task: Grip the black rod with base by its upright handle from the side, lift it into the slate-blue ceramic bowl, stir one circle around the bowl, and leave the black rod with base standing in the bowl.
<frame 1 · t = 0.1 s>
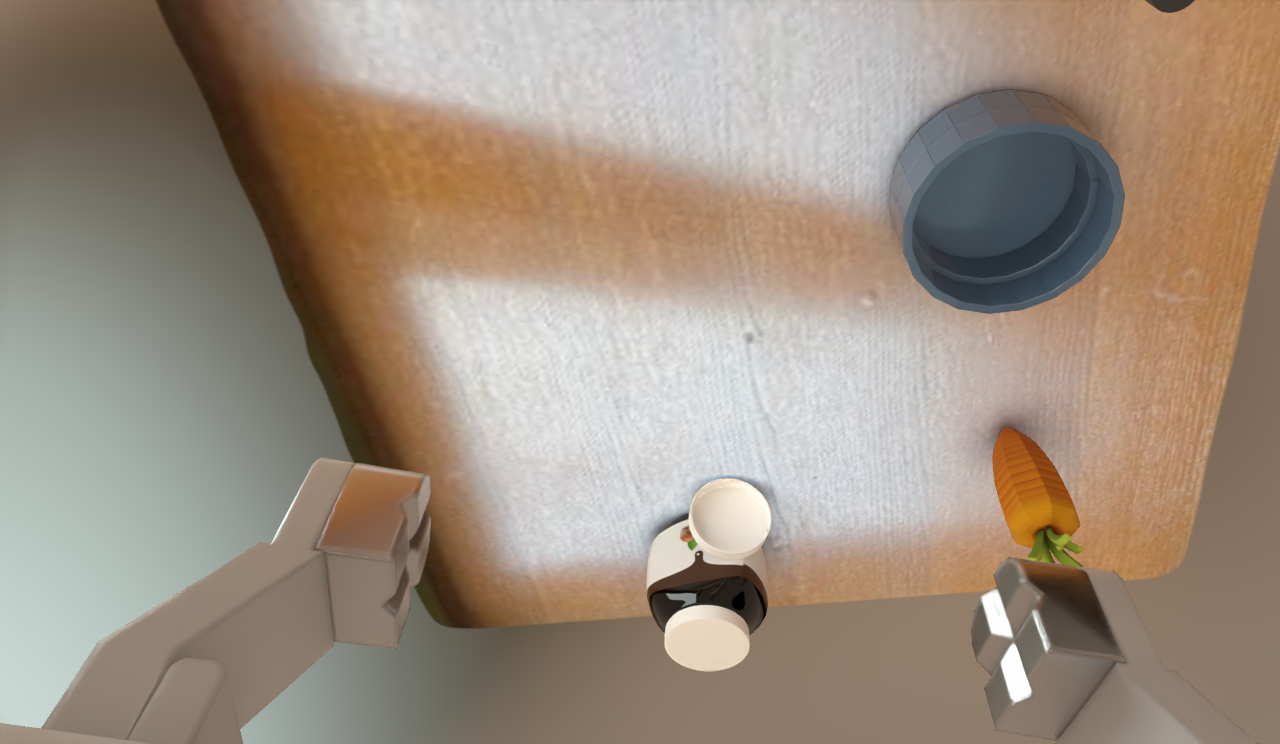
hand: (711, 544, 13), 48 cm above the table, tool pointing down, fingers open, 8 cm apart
bowl: (987, 182, 60), on the table
spread jar: (711, 520, 81), on the table
carrot: (1005, 427, 72), on the table
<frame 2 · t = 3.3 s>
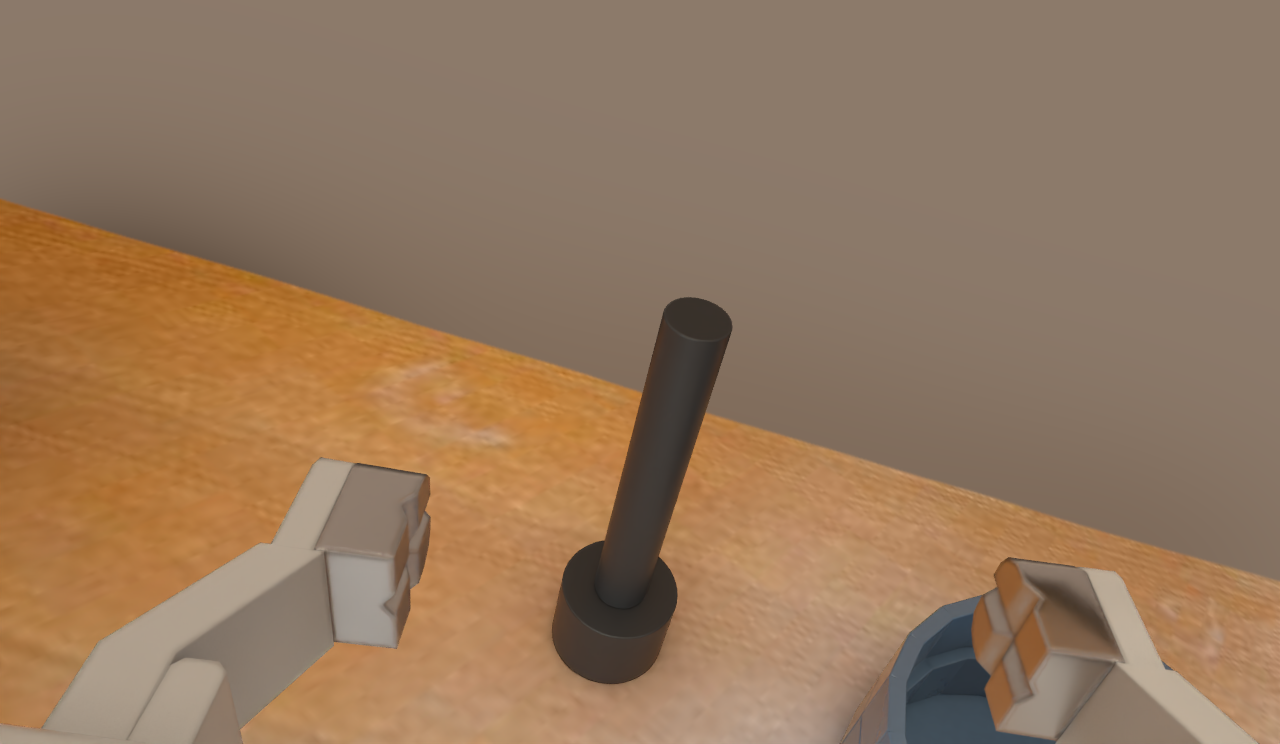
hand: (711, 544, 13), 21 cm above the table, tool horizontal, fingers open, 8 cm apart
black rod with base: (606, 633, 36), on the table
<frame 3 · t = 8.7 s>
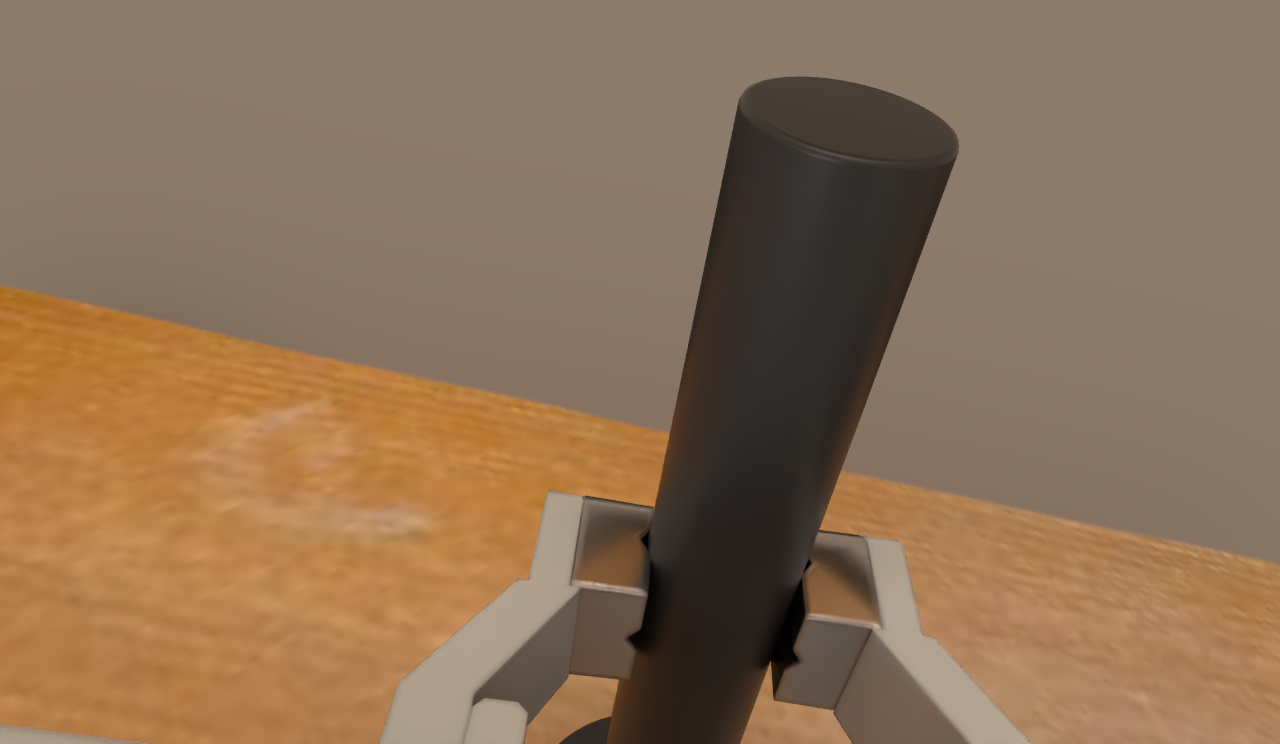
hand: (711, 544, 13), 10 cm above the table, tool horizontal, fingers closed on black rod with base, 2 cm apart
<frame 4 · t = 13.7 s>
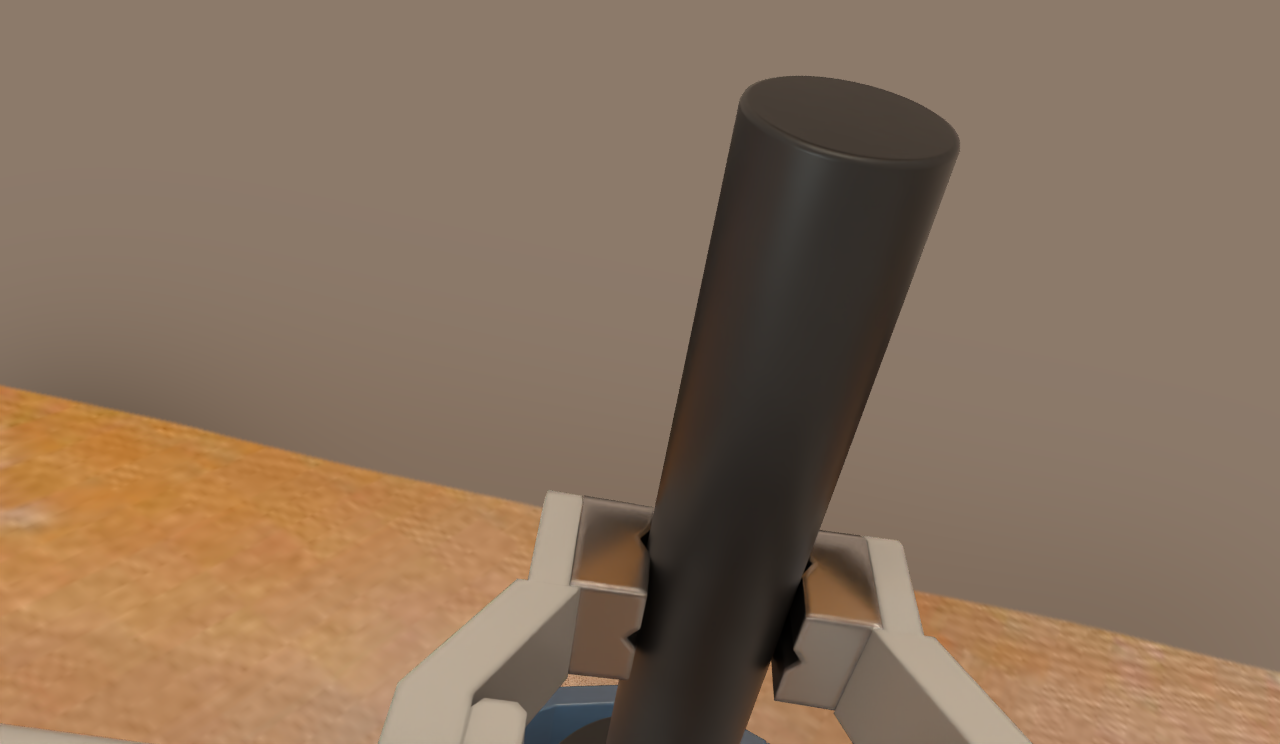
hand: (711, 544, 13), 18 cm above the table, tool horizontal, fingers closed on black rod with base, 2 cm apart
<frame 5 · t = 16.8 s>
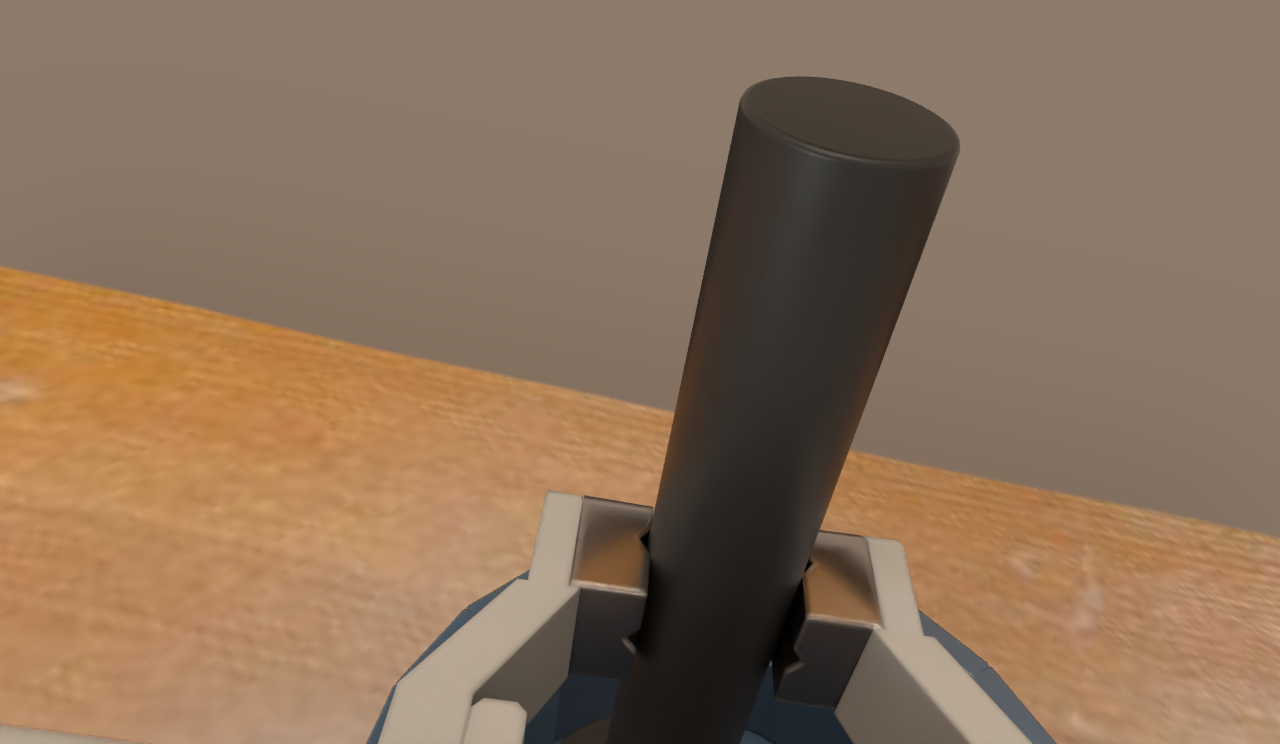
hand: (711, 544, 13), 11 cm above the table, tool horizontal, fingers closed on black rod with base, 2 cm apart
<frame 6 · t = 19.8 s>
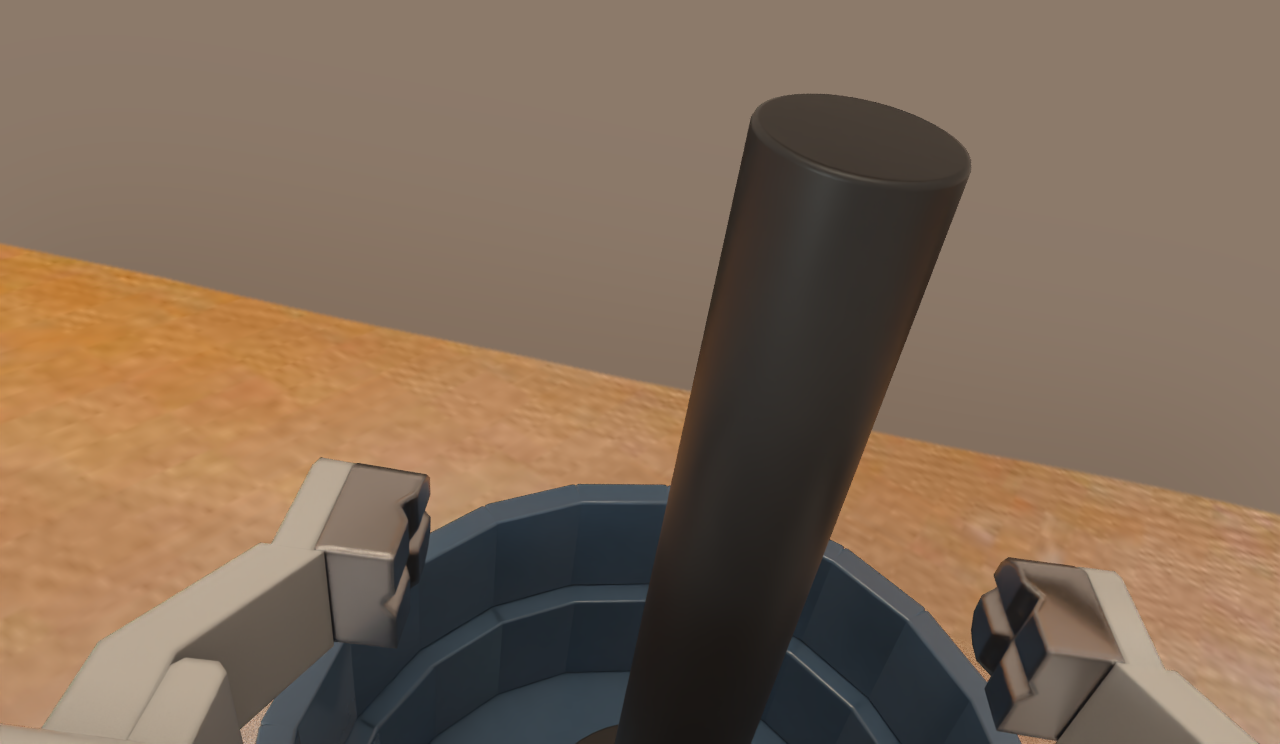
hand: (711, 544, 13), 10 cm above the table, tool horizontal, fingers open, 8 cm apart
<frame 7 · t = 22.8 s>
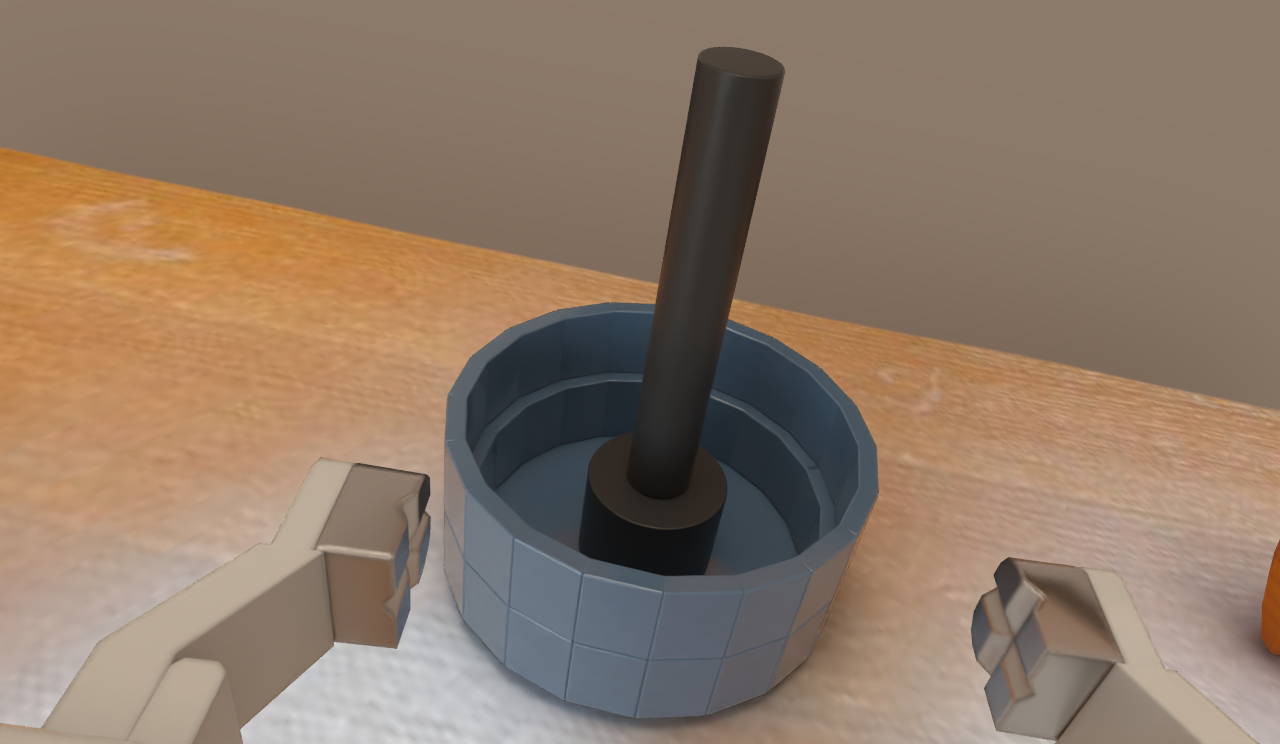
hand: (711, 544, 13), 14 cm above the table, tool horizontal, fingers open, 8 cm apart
bowl: (638, 555, 30), on the table
black rod with base: (644, 546, 30), point 1 cm above the table, touching bowl
carrot: (1269, 654, 31), on the table
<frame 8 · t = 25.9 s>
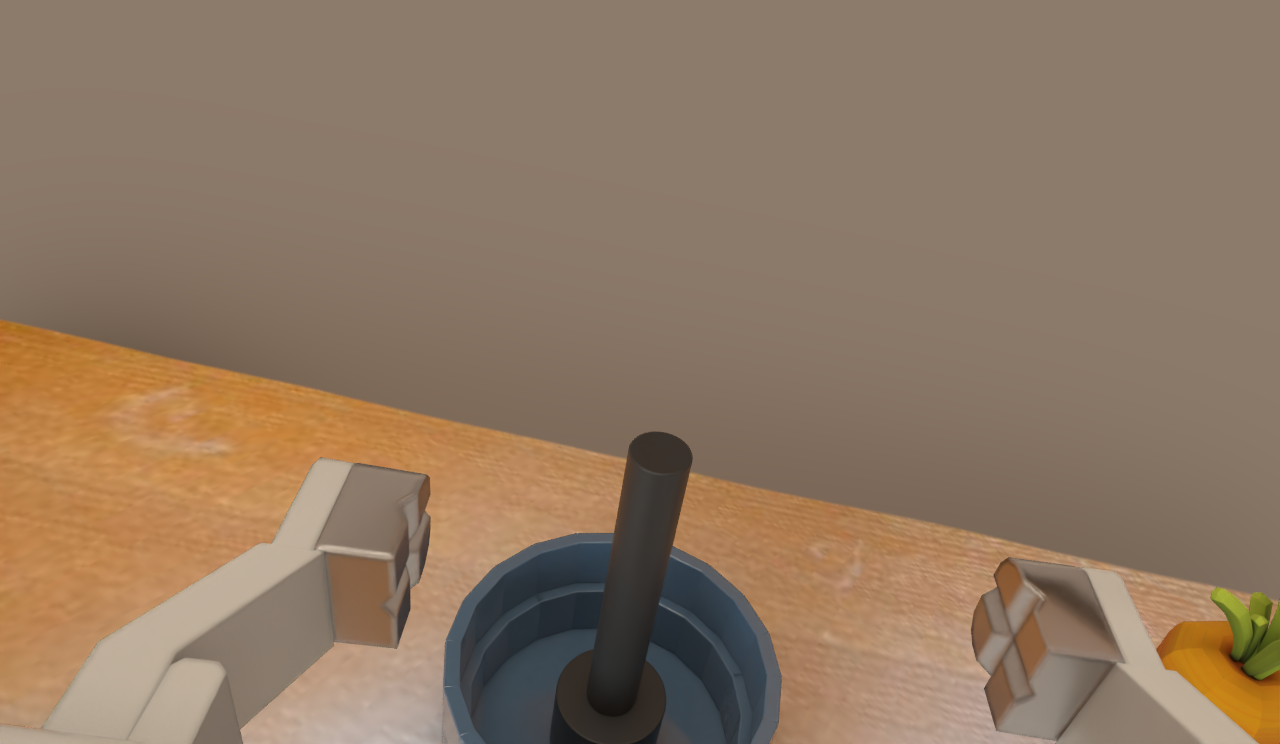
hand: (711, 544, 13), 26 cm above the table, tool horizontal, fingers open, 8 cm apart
bowl: (598, 743, 38), on the table
black rod with base: (602, 737, 38), point 1 cm above the table, touching bowl
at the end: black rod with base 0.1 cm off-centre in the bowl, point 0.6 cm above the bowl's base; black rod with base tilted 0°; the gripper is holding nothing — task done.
